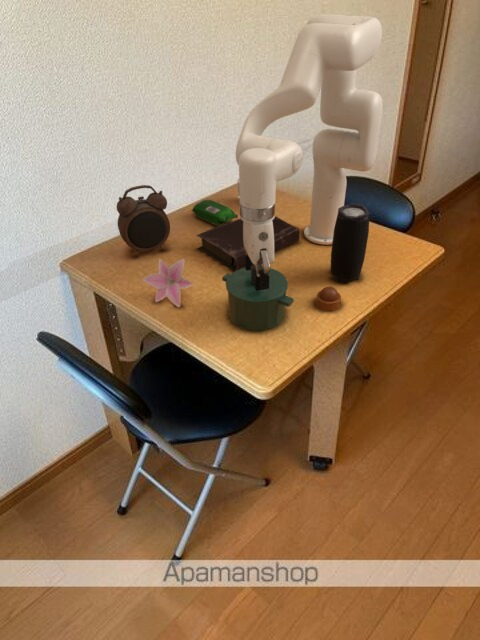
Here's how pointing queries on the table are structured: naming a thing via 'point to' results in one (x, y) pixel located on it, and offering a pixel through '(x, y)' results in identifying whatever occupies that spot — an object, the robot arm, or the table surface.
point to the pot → (257, 312)
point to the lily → (169, 281)
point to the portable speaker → (349, 242)
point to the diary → (229, 241)
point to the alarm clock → (143, 221)
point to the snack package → (213, 212)
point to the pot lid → (244, 286)
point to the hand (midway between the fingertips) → (256, 278)
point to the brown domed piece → (328, 299)
